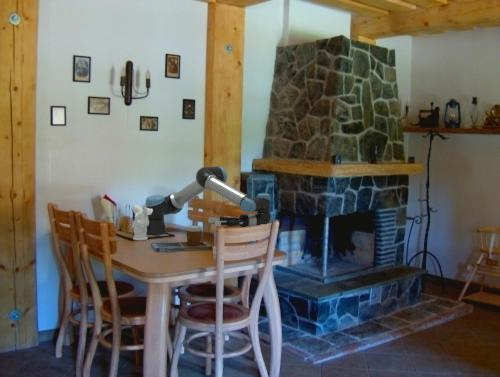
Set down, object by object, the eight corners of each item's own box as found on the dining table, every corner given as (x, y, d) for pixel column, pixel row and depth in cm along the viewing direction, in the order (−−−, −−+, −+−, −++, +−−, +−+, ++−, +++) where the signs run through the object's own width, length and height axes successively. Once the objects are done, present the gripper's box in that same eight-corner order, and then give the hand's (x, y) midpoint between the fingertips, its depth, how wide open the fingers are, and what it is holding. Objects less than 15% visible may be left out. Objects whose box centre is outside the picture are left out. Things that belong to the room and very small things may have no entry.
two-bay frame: (150, 245, 326) (150, 242, 326) (204, 243, 336) (204, 240, 336) (156, 252, 307) (156, 249, 307) (212, 250, 317) (213, 247, 317)
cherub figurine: (129, 238, 346) (129, 201, 345) (148, 236, 354) (148, 201, 352) (138, 241, 337) (139, 203, 335) (157, 239, 344) (158, 202, 342)
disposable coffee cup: (181, 248, 322) (182, 226, 321) (191, 245, 330) (191, 224, 329) (196, 250, 318) (196, 228, 316) (205, 247, 326) (205, 226, 325)
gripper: (254, 230, 321) (217, 232, 314) (240, 224, 344) (206, 225, 338) (254, 217, 320) (217, 218, 313) (240, 211, 344) (206, 212, 337)
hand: (211, 221), depth 325 cm, fingers open, 13 cm apart
